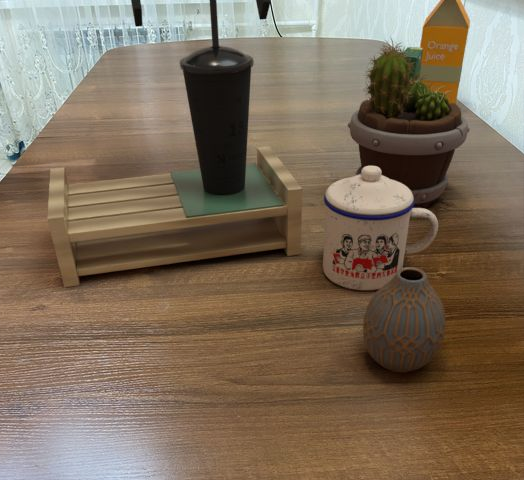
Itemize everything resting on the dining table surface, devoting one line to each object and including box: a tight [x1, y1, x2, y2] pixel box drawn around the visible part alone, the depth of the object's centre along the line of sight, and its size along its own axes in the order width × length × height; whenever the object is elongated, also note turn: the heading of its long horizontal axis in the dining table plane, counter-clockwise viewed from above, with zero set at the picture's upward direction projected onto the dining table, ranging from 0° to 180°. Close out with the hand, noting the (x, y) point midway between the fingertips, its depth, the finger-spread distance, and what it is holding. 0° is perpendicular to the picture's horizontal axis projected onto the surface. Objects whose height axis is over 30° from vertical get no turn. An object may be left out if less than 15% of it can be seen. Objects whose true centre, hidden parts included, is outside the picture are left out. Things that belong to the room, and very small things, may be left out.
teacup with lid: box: [322, 166, 439, 291], centre depth 63 cm, size 12×9×12 cm
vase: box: [362, 266, 447, 373], centre depth 52 cm, size 7×7×9 cm
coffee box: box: [402, 46, 423, 81], centre depth 99 cm, size 8×3×13 cm, turn 160°
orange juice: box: [419, 0, 471, 105], centre depth 108 cm, size 8×9×20 cm
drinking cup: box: [178, 0, 255, 195], centre depth 65 cm, size 8×8×20 cm
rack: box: [46, 145, 303, 288], centre depth 71 cm, size 14×27×8 cm, turn 104°
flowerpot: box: [347, 36, 470, 209], centre depth 77 cm, size 14×15×20 cm
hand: (203, 14), depth 65 cm, fingers open, 13 cm apart
